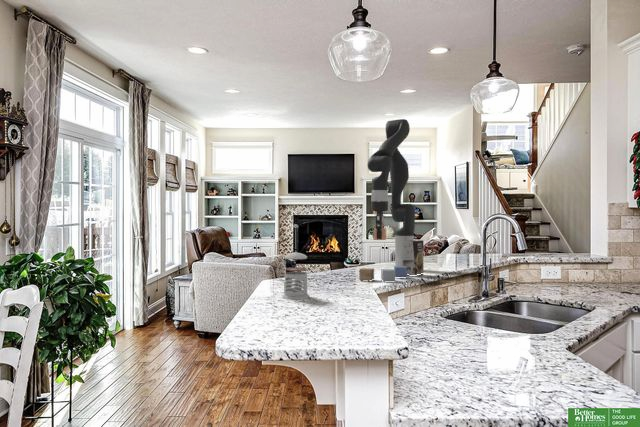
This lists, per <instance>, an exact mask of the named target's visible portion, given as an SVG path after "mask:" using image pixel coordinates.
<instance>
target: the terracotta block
mask: <svg viewBox="0 0 640 427" xmlns="http://www.w3.org/2000/svg"><path fill="white" fill-rule="evenodd" d="M381 231H382V239H377V230H376V228H373V241H386V240H387V228H386V227H385V228H382V230H381Z"/></svg>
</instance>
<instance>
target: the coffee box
mask: <svg viewBox="0 0 640 427" xmlns="http://www.w3.org/2000/svg"><path fill="white" fill-rule="evenodd" d="M403 266H406V267H407V274H409V275H417V274H421V273H424V267H425V266H424V240H420V239H416V240H415V239H414V240H409V241H403Z"/></svg>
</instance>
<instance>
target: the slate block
mask: <svg viewBox="0 0 640 427" xmlns="http://www.w3.org/2000/svg"><path fill="white" fill-rule="evenodd" d="M381 279H382V280H383V281H395V282H396V279H395V270H394V268H380V280H381Z"/></svg>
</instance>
